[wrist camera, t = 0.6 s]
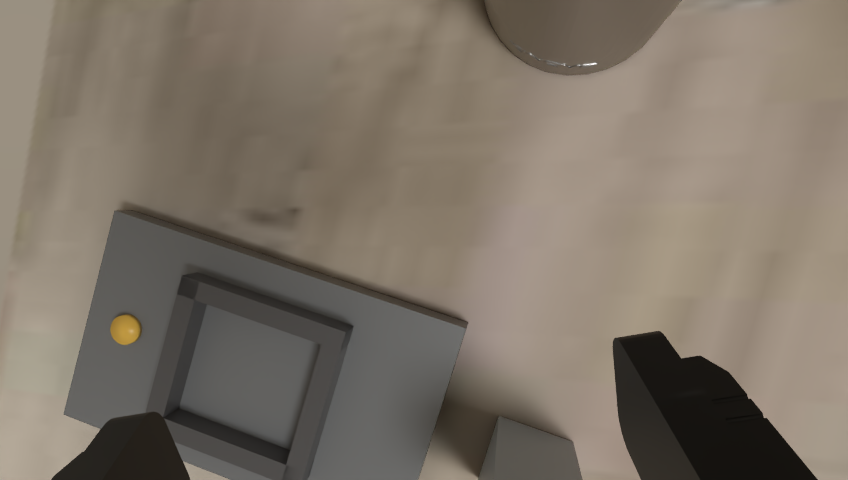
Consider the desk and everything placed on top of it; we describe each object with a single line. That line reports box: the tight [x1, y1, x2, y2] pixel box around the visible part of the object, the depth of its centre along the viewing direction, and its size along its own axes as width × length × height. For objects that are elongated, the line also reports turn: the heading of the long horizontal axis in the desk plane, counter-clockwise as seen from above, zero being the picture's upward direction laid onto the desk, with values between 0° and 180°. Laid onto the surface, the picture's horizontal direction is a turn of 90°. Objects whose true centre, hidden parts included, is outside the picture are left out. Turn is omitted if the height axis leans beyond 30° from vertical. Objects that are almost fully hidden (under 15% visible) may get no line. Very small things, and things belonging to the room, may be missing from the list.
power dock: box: [64, 210, 468, 480], centre depth 32 cm, size 12×20×3 cm, turn 73°
